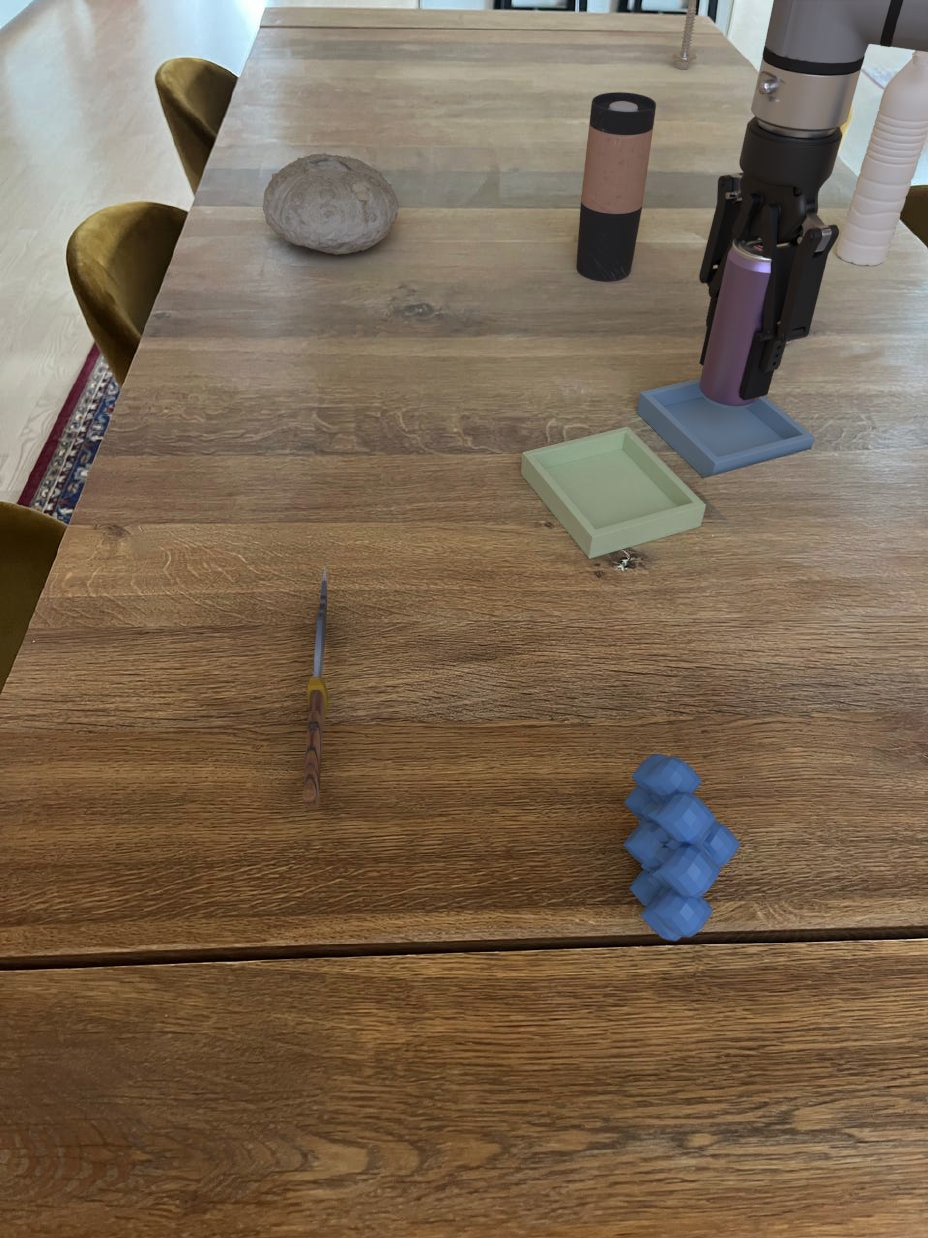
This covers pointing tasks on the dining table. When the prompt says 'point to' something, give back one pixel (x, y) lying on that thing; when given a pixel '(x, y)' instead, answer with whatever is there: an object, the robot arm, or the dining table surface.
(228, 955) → the dining table surface
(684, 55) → the screw
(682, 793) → the grapes
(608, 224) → the travel mug
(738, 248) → the beverage can
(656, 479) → the snack tray
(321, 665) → the knife
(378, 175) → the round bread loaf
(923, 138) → the water bottle
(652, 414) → the tray
